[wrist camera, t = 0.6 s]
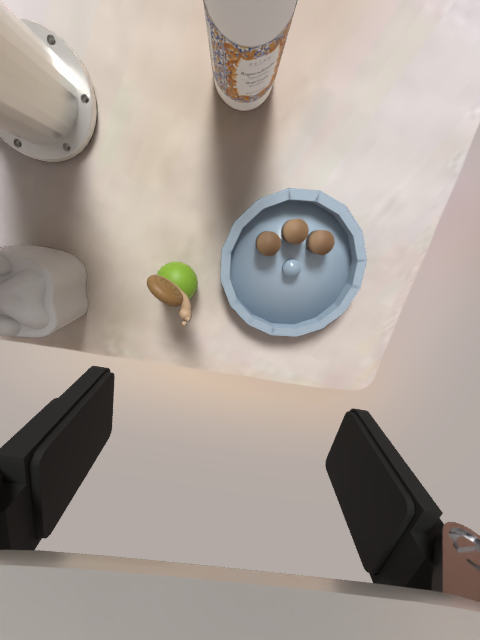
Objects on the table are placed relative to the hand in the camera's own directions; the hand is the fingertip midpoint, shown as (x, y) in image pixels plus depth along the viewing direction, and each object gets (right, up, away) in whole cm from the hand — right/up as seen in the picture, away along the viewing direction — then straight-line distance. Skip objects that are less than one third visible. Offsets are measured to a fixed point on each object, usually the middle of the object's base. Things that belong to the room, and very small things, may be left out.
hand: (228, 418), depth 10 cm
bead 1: (+4, +14, +24) cm, 28 cm away
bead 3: (+11, +15, +24) cm, 30 cm away
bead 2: (+7, +16, +24) cm, 29 cm away
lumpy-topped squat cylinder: (-28, +9, +26) cm, 40 cm away
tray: (+7, +12, +26) cm, 30 cm away
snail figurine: (-8, +10, +27) cm, 29 cm away
